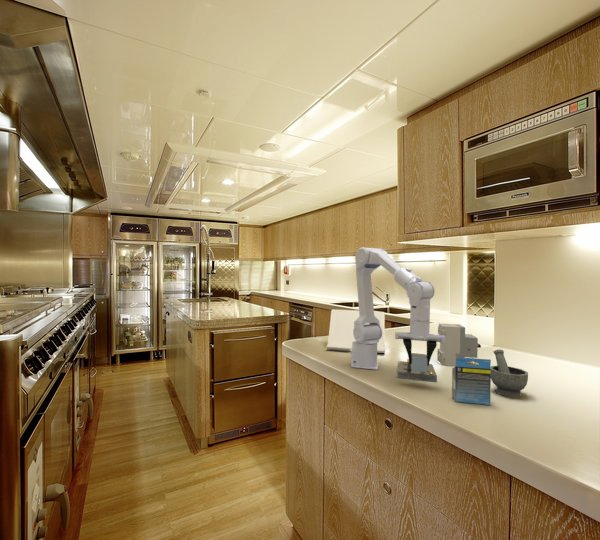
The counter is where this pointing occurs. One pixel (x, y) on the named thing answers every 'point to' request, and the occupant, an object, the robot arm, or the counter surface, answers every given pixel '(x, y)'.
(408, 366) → the tagged lever
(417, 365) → the cap
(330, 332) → the tablet stand
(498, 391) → the mortar and pestle
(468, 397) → the label tape cartridge
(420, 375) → the panel
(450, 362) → the circuit breaker
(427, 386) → the counter surface
